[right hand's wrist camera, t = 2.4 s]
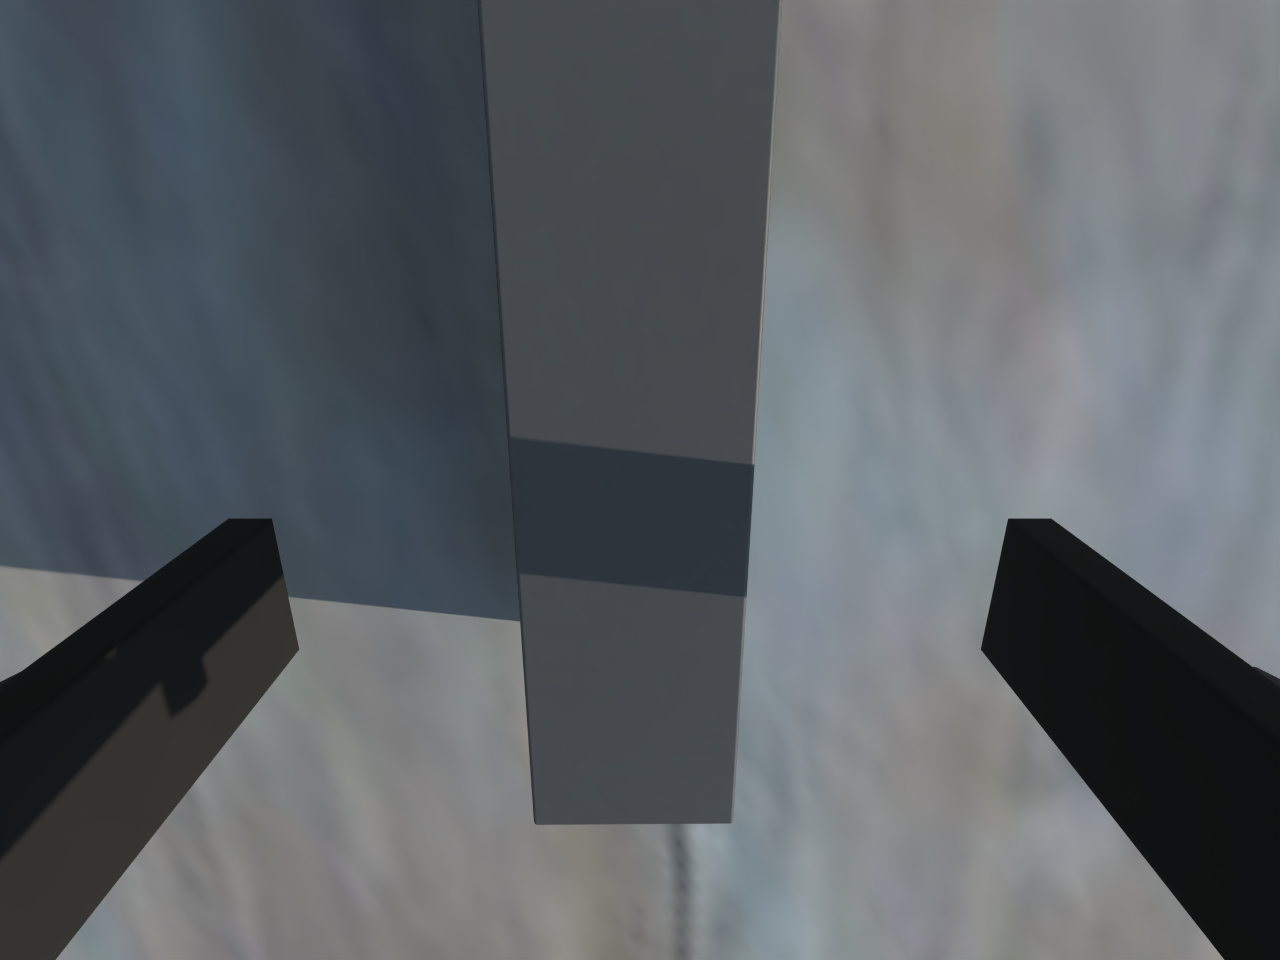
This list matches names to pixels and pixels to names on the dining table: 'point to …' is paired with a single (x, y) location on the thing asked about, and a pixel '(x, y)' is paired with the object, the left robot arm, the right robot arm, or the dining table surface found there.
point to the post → (631, 383)
